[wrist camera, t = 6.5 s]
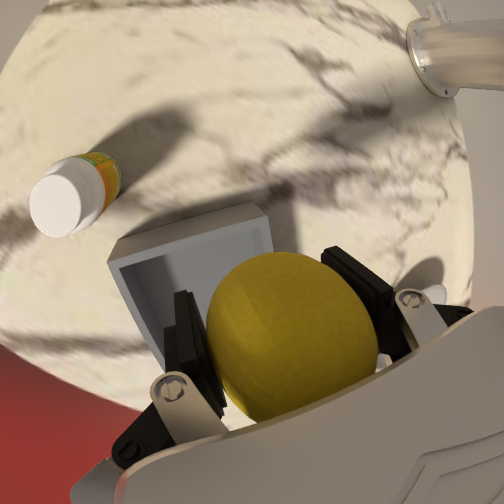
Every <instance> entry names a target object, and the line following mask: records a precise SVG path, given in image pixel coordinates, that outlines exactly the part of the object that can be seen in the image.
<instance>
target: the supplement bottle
mask: <svg viewBox="0 0 504 504" xmlns="http://www.w3.org/2000/svg"><path fill="white" fill-rule="evenodd" d="M120 187H121V172H120V169H119V167H118V165H117V163H116V162H115V160H114V159H113V158H111V157H110V156H109V155H107V154H104V153H101V152H91V153H86V154H81V155H76V156H72V157H68V158H65V159H62V160H59V161H58V162H56V163H54V164H53V165H52V166H51V167H50V168H49V169H48V170H47V171H46V173H45V174H44V176H43V178H41V179H40V180H39V181H38V182H37V183H36V185H35V186H34V188H33V190H32V192H31V196H30V204H29V205H30V213H31V217H32V219H33V221H34V223H35V225H36V226H37V228H38V229H39V230H40V231H41V232H43V233H44V234H46V235H48V236H50V237H63V236H66V235H68V234H70V233H76V232H80V231H82V230H85V229H86V228H88V227H89V226H90V225H92V224H93V223H94V222H95V221H96V220H97V219H98V217H99V216H100V215H101V214H102V213H103V212H104V211H105V210H106V208H107V207H108V206H109V205H110V204H111V203H112V202H113V201H114V200H115V198H116V197H117V195H118V193H119V191H120Z"/></svg>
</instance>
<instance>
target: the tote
mask: <svg viewBox="0 0 504 504" xmlns="http://www.w3.org/2000/svg"><path fill="white" fill-rule="evenodd" d="M269 252H274V250H273V243H272V238H271V232H270V226H269V220H268V215H267V214H266V213H264V212H263V211H262V210H261V209H260V208H259V207H258V206H257V205H255V204H254V203H253V202H252V201H250V202H246V203H242V204H238V205H234V206H231V207H227V208H223V209H219V210H216V211H212V212H209V213H205V214H201V215H198V216H194V217H191V218H187V219H184V220H180V221H177V222H174V223H170V224H167V225H164V226H160V227H157V228H154V229H151V230H147V231H144V232H141V233H138V234H135V235H132V236H129V237H125V238H122V239H119V240H117V242H116V244H115V246H114V248H113V250H112V252H111V254H110V256H109V259H108V261H107V264H108V267H109V269H110V271H111V273H112V276H113V278H114V280H115V282H116V284H117V287H118V289H119V291H120V293H121V295H122V297H123V299H124V301H125V303H126V305H127V307H128V309H129V311H130V313H131V315H132V317H133V319H134V321H135V322H136V324H137V326H138V328H139V330H140V332H141V333H142V335H143V337H144V339H145V341H146V342H147V344H148V346H149V347H150V349H151V351H152V353H153V354H154V356H155V358H156V359H157V361H158V363H159V364H160V366H161V367H162V369H163V371H164V372H165V356H164V328H165V327H169V326H173V325H176V323H175V309H174V293H175V292H178V291H182V290H187V292H193V294H194V297H195V300H196V303H197V306H198V309H199V312H200V315H201V317H202V320H203V323H204V326H205V329H206V316H207V312H208V308H209V305H210V302H211V299H212V296H213V294H214V292H215V290H216V288H217V287H218V285H219V284H220V282H221V281H222V279H223V278H224V277H225V276H226V275H227V274H228V273H229V272H230V271H231V270H232V269H234V268H235V267H236V266H237V265H239V264H241V263H242V262H244V261H246V260H247V259H249V258H252V257H255V256H258V255H261V254H264V253H269Z"/></svg>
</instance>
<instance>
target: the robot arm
mask: <svg viewBox="0 0 504 504" xmlns="http://www.w3.org/2000/svg"><path fill="white" fill-rule="evenodd" d="M425 6H426V9H427V12H428V14H429V17H430V18H429V19H426V18H419V19H415V20H413V21H412V22H410V24H409V26H408V29H407V38H406V39H407V47H408V51H409V55H410V58H411V61H412V63H413V65H414V68H415V70H416V72H417V74H418V75H419V77H420V79H421V80H422V81H423V83H424V84H425V85H426V87H427V88H428V89H429V90H430V91H431V92H433V93H434V94H435V95H437V96H439V97H443V98H450V97H453V96H455V95H456V94H457V92H458V91H459V88H473V89H486V90H496V91H504V19H490V20H474V21H465V22H456V23H451V22H450V20H448V18H447V15H446V11H445V8H444V5H443V3H441V2H432V3H431V4H426V5H425ZM321 263H323V264H325V265H327V266H328V267H330V268H331V269H333V270H334V271H335V272H337V273H338V274H339V275H340V276H341V277H342V278H343V279H344V280H345V281H346V282H347V284H348V285H349V286H350V287H351V288H352V289H353V290H354V291H355V293H356V294H357V295H358V297H359V298H360V300H361V301H362V303H363V304H364V306H365V308H366V310H367V312H368V314H369V316H370V318H371V321H372V324H373V327H374V330H375V333H376V337H377V341H378V355H379V354H381V353H382V354H384V357H385V360H386V363H387V365H388V366H387V367H385V368H384V369H382V370H380V371H378V372H376V373H375V374H373V375H371V376H369V377H367V378H365V379H363V380H361V381H359V382H357V383H355V384H353V385H351V386H349V387H347V388H345V389H343V390H341V391H339V392H336V393H334V394H332V395H330V396H328V397H325V398H323V399H321V400H318V401H316V402H314V403H311V404H309V405H306V406H304V407H301V408H299V409H296V410H294V411H291V412H288V413H286V414H283V415H280V416H277V417H275V418H272V419H269V420H266V421H263V422H259V423H256V424H253V425H250V426H247V427H243V428H240V429H237V430H233V431H229V430H228V429H227V427H226V426H225V425H224V424H223V422H222V421H221V418H222V416H224V411H223V408H224V407H227V403H226V399H225V396H224V392H223V388H222V386H221V384H220V382H219V380H218V378H217V376H216V373H215V371H214V368H213V366H212V363H211V361H210V358H209V354H208V350H207V345H206V329H205V326H204V323H203V320H202V317H201V315H200V312H199V309H198V306H197V303H196V300H195V297H194V294H193V292H187V290H182V291H178V292H175V293H174V309H175V323H176V325H173V326H169V327H165V328H164V356H165V374H162V375H161V376H159V377H158V378H157V379H156V380H155V381H154V382H153V383H152V385H151V387H150V396H151V399H152V401H153V402H152V403H151V404H150V405H149V406H148V407H147V408H146V409H145V410H144V412H143V413H142V414H141V415H140V416H139V417H138V418H137V419H136V420H135V421H134V422H133V423H132V424H131V425H130V426H129V427H128V429H127V430H126V431H125V432H124V433H123V434H122V435H121V436H120V437H119V438H118V439H117V440H116V441H115V443H114V444H113V447H112V456H111V457H110V458H109V459H108V460H107V459H106V458H104V459H103V460H102V461H101V462H100V463H98V464H97V465H96V466H95V467H94V468H93V469H92V470H91V471H90V472H88V473H87V474H86V475H85V476H84V477H83V478H82V479H81V480H79V481H78V482H77V483H76V484H75V485H74V486H73V487H72V489H71V492H70V499H71V502H72V504H504V307H502V306H492V307H487V308H483V309H480V310H478V311H475V312H474V311H472V310H471V309H469V308H467V307H462V306H451V305H441V304H432V302H431V301H430V300H429V298H428V297H427V295H426V294H425V293H423V292H422V291H420V290H417V289H412V288H408V289H403V290H400V291H399V292H397V293H395V292H394V291H393V287H391V286H390V285H389V284H388V283H386V282H385V281H384V280H382V279H381V278H380V277H378V276H377V275H376V274H374V273H373V272H372V271H371V270H369V269H368V268H367V267H365V266H364V265H363V264H361V263H360V262H358V261H357V260H356V259H354V258H353V257H352V256H350V255H349V254H348V253H346V252H345V251H343V250H342V249H341V248H339V247H338V246H333V247H330V248H326V249H324V252H323V253H322V254H321Z"/></svg>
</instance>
